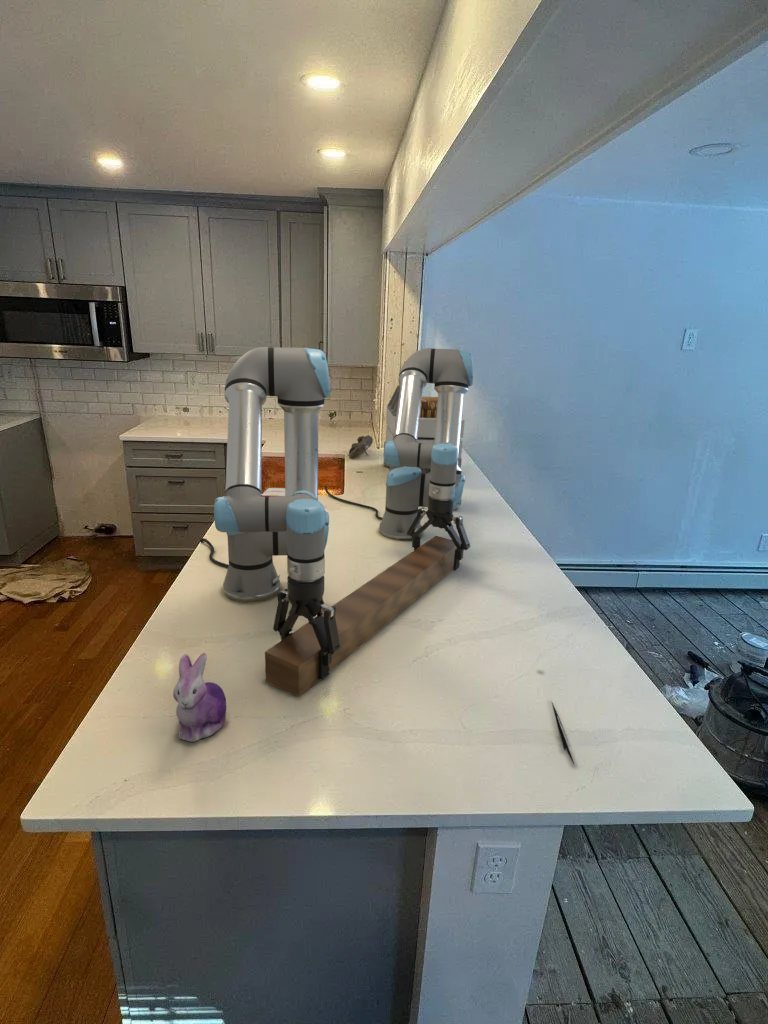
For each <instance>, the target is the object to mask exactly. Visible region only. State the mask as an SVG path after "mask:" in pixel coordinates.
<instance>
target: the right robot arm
mask: <svg viewBox="0 0 768 1024" xmlns="http://www.w3.org/2000/svg"><path fill="white" fill-rule="evenodd" d="M473 360H474V359H473V355H472V352H470V350H464V349H459V348H456V349H455V348H454V349H453V348H432V347H426V348H421V349H419V350H417V351H415V352H413V353H412V354H411V355H410V356H409V357H407V359H406V360H405V362H403V364H402V366H401V367H400V371H399V373H398V385H400V393H399V400H398V407H397V414H396V421H395V428H394V436H393V440H391V441H387V442H386V441H385V442H386V443H385V449H384V448H383V463H384V462H385V463H386V464H387V465H392V466H398V467H399V466H404V467H399V468H396V469H393V470H391V471H390V470H389V471H388V473H387V475H386V482H385V487H386V488H385V489H386V490H385V504H384V505H385V507H384V508H385V509H384V513H383V515H382V517H381V516H380V515H379V510H378V509H377V508H376V507H373V506H371V505H366V504H362V503H358V502H354V501H351V500H347V499H343V498H340V497H338V496H335V495H333V494H331V493H330V491H329V490H328V487H327V485H324V491H325V493H326V494H327V495H328V496H329V497H331V498H333V499H334V500H337V501H339V502H343V503H345V504H351V505H354V506H358V507H362V508H365V509H370V510H372V511H374V512H375V514H374V516H375V518H377V519H378V520H380V521H381V522H379V527H378V533H379V534H380V535H381V536H382V537H385V538H387V539H389V540H395V541H410V540H411V548H412V549H413V551H414V550H416V549H417V548H418V547H420V546H421V540H422V537H421V536H422V535H423V532H424V531H426V530H427V529H428V528H429V527H430V526H432V527H433V528H439V529H441V530H443V529H444V531H445V532H446V533H447V535H448V536H449V538H450V539H451V540H452V541H453V542H454V544H455V546H456V547H457V549H456V550H455V556H454V566H453V569H452V571H455V572H456V571H457V570H458V569H460V562H461V561H462V560H463V559H464V551H467V550H469V549H470V548H471V542H470V540H469V537H468V535H467V534H468V533H467V532H466V528H465V526H464V518H463V517H464V516H462V515H459V516H454V513H453V512H454V510H457V509H458V508H459V507H460V506H461V505H460V501H461V502H462V498H463V497H462V496H463V493H464V486H465V482H466V476H465V475H462V468H461V469H460V468H459V467H458V455H459V443H460V439H461V438H460V430H461V418H462V419H463V403H464V395H466V394H467V393H468V392H469V387H471V386H474V361H473ZM427 384H433V385H434V386H433V387H434V391H435V392H436V393H437V397H438V403H437V416H436V428H435V441H434V444H428V443H417V436H418V428H419V419H420V410H421V402H422V397H423V393H424V392H423V391H424V389H425V388H426V386H427ZM422 469H427V472H422ZM459 505H460V506H459ZM420 507H421V508H420ZM425 508H427V509H425ZM456 508H457V509H456ZM425 516H426V517H427V519H428V520H427V521H426V522H424V524H423V525H422V524H421V521H422V520H423V518H424V517H425ZM454 525H455V527H454Z"/></svg>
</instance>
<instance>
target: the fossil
mask: <svg viewBox="0 0 768 1024" xmlns="http://www.w3.org/2000/svg"><path fill="white" fill-rule="evenodd" d="M373 443H374V442H373V437H372V436H371V435H366V436H365V435H361V436H358V437H357V442H353V443H352V444H351V447H350V448H349V450H348V457H349V459H353V460H354V459H356V458H358V457H360V456H361V455H363V454H366V456H368V455H369V454H368V452H367V450H368V449H369V448H371V446H372V444H373Z"/></svg>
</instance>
